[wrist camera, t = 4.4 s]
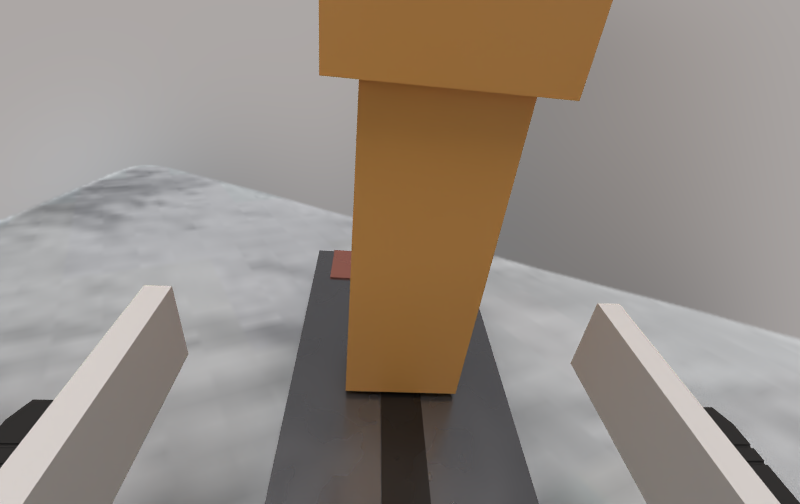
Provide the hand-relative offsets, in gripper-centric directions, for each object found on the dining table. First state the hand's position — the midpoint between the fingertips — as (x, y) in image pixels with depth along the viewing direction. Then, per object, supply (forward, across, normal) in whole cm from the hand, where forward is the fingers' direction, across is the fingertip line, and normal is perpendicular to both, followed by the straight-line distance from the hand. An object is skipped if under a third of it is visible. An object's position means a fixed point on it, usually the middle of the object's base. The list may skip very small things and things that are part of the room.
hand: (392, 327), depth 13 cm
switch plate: (+4, +1, -9) cm, 10 cm away
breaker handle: (+4, +1, -6) cm, 7 cm away
